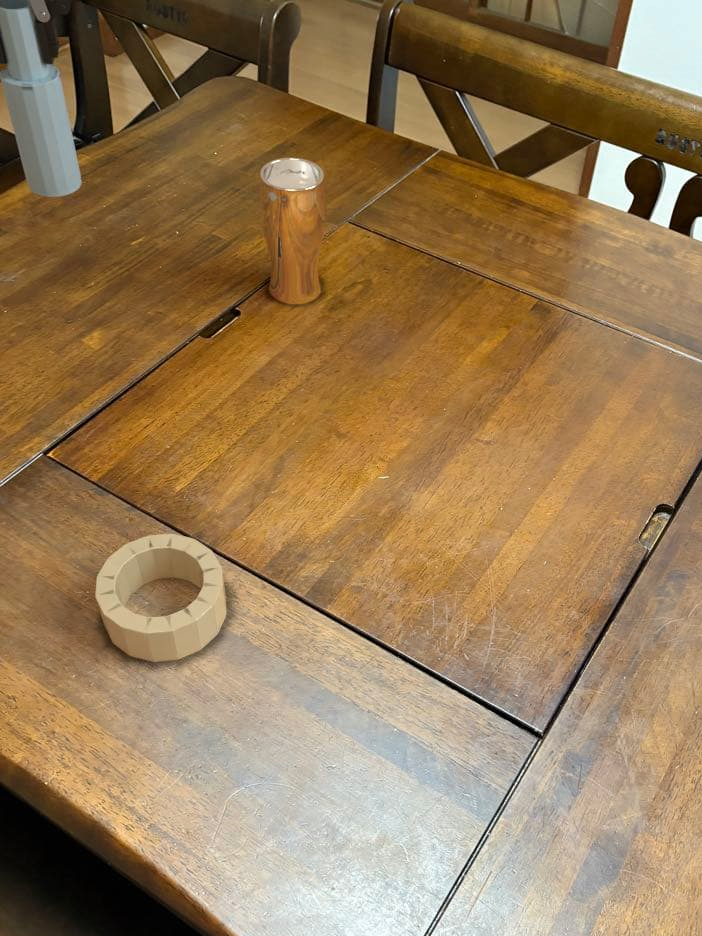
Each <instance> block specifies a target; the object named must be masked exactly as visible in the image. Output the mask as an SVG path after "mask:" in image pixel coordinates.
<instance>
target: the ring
mask: <svg viewBox="0 0 702 936" xmlns="http://www.w3.org/2000/svg"><path fill="white" fill-rule="evenodd" d="M103 563H104V564H103V565H102V566H101V568H100V570H99V571H98V574H97V575H96V578H95V579H96V580H95V581H96V582H95V591H94V595H95V596H94V597H95V601H96V604H97V607H98V610H99V613H100V616H101V619H102V622H103V626H104V629H105V630H106V632H107V634H108V636H109V638H110V640H111V643H112V644H113V645H114V646H115V647H117V648H118V649H120V650H121V651H122V652H124V653H125V654H126V655H128V656H129V657H132V658H136V659H139V660H143V661H147V662H151V663H153V662H154V663H159V662H169V661H178V660H181V659H184V658H186V657H187V656H190V655H192V654H194V653H197V652H200V651H201V650H202V649H203V648H205V647H206V646H207V645H208V644H209V643H210V642H211V641H212V640H213V639H214V638H215V637H216V636H217V635H218V634H219V633H220V631H221V629H222V626H223V624H224V621H225V620H226V618H227V595H226V589H225V580H224V574H223V567H222V565H221V563H220V561H219V560H218V558H217V557H216V555H215V553H214V552H213V550H212V549H210V548H209V547H207V546H206V545H204V544H203V543H201V542H200V541H198V540H197V539H195V538H193V537H189V536H184V535H180V534H176V533H161V534H149V535H146V536H143V537H140V538H138V539H134V540H132V541H129V542H127V543H125V544H123V545H122V546H120V548H118V549H117V550H116V551H115V552H113V553H112V554H111V555H110V556H108V557H107V558H106V560H105V562H103ZM170 578H176V579H179V580H184V581H187V582H190V583H192V584H193V585H195V586H196V587H197V588H199V589H200V591H199V593H198V594H197V597H196V598H195V599H194V600H193V601H192V602H191V603H190V604H189V605H187V606H186V607H185V608H183V609H181V610H178V611H176V612H173V613H171V614H169V615H163V616H145V615H141V614H138V613H134V612H133V611H131V610H130V609H128V608H127V607H126V606H127V603H128V601H129V600H130V597H132V596H131V595H133V594H134V593H135V592H136V591H138V590H139V589H140V588H141V587H142V586H144V585H146V584H148V583H151V582H153V581H156V580H160V579H170Z"/></svg>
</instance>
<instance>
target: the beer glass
mask: <svg viewBox="0 0 702 936" xmlns="http://www.w3.org/2000/svg"><path fill="white" fill-rule="evenodd" d="M259 172H260V173H259V174H260V185H259V188H260V189H259V213H260V214H259V215H260V223H261V229H262V235H263V238H264V242H265V247H266V250H267V255H268V258H269V264H270V280H269V286H268V292H269V294H270V295H271V296H272V297H273V298H274V299H275V300H277V301H279V302H281V303H284V304H288V305H303V304H307V303H310V302H312V301H314V300H316V299H317V298H318V297H319V296H320V294H321V290H322V288H321V283H320V280H319V279H320V278H319V261H320V255H321V250H322V246H323V245H322V244H323V240H324V234H325V229H326V215H327V213H326V212H327V209H326V190H325V173H324V170H323V169H322V168H321V167H320V165H319V164H317V163H315V162H313V161H311V160H308V159H304V158H299V157H282V158H277V159H273V160H270V161H269V162H267V163H265V164H264V165H263V166H262V167H261V169H260V171H259Z"/></svg>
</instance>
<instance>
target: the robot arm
mask: <svg viewBox="0 0 702 936" xmlns="http://www.w3.org/2000/svg"><path fill="white" fill-rule="evenodd" d="M29 1H30V3H31V6H32V8H33V10H34V13H35V15H36V17H37V19H36V28H37V32H38V37H39V41H40V46H41V51H42V55H43V60H44V63H45V64H51V65H54V62H55V58H58V56H59V51H60V47H61V45H60V40H59V36H58V35H59V34H58V31H57V30H58V29H57V25H56V20H55V18H56V17H58V16H61V15H62V16H66V15H68V14H69V13H70V10H71V6H72V0H29ZM0 65H7V61H6V57H5V53H4V48H3V44H2V40H1V36H0Z"/></svg>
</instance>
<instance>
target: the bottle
mask: <svg viewBox="0 0 702 936" xmlns="http://www.w3.org/2000/svg"><path fill="white" fill-rule="evenodd" d="M36 19H37V17H36V15H35V13H34V10H33V8H32V6H31V3H30V1H29V0H0V36H1V40H2V44H3V48H4V53H5V57H6V61H7V64H6V65H5V67H4V68H2V69H1V70H0V82H1V87H2V90H3V93H4V94H3V95H4V98H5V102H6V106H7V110H8V112H9V117H10V122H11V126H12V129H13V133H14V137H15V141H16V145H17V149H18V153H19V156H20V157H19V158H20V161H21V165H22V168H23V172H24V176H25V180H26V183H27V186H28V188H29V190H30V191H31V192H32V193H34V195H35V194H36V195H38V196H41V197H46V198H60V197H64V196H69V195H71V194H73V193H75V192H76V191H78V190H79V189H80V188H81V186H82V175H81V169H80V164H79V160H78V155H77V151H76V146H75V140H74V136H73V131H72V126H71V122H70V121H71V120H70V116H69V113H68V108H67V106H68V105H67V101H66V97H65V93H64V92H65V91H64V88H63V82H62V78H61V72H60V70H59V68H58V67H57V66H55V65H54V64H45V63H44V60H43V55H42V51H41V46H40V41H39V37H38V32H37V28H36Z"/></svg>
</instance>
